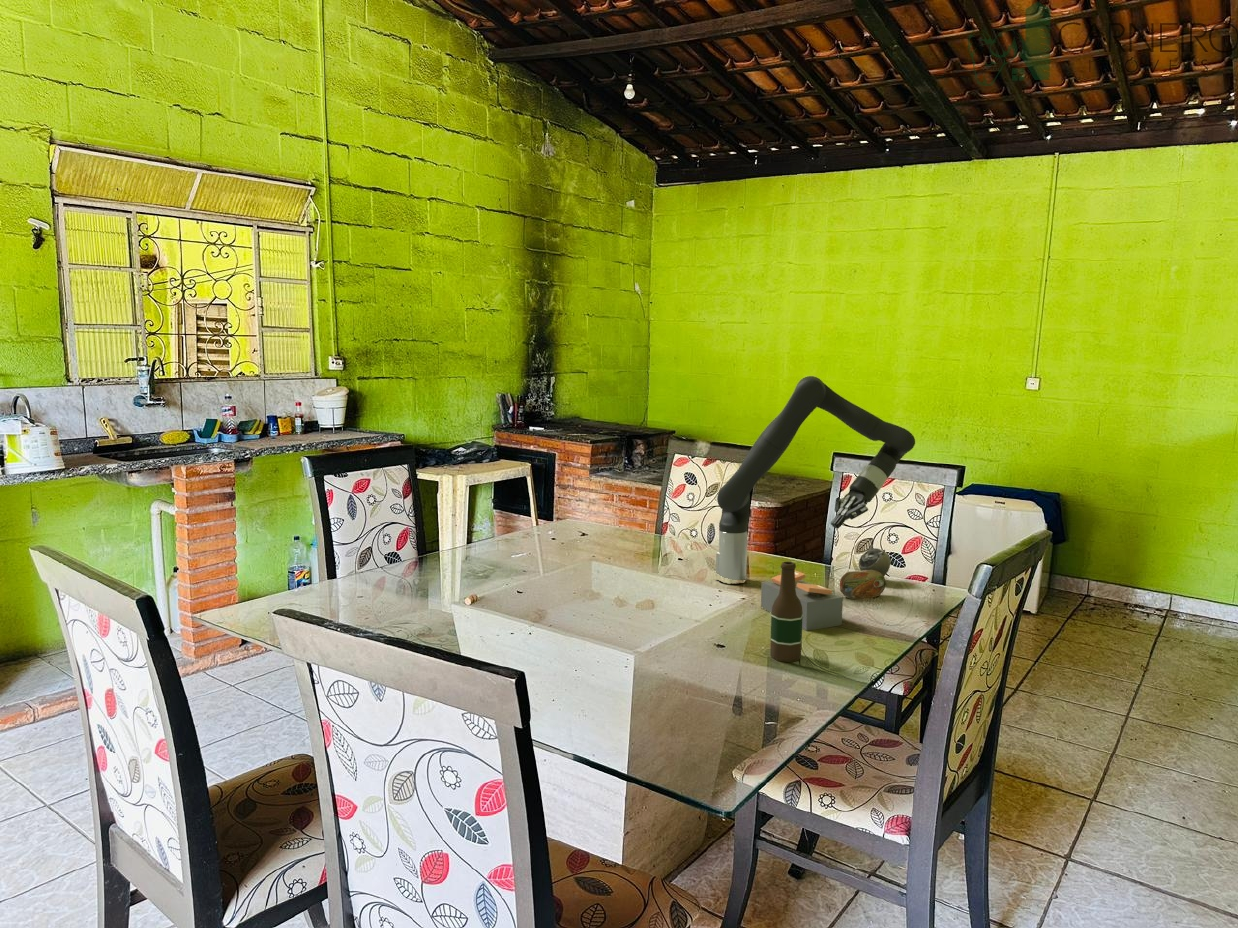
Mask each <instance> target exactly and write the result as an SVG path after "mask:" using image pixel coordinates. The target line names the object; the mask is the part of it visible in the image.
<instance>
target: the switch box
mask: <svg viewBox="0 0 1238 928" xmlns="http://www.w3.org/2000/svg"><path fill="white" fill-rule="evenodd" d="M797 583H804V584H811V583H809V582H807V581H804V580H803V579H802V580H799V581H797V582H795V590H796V595H797V597H798V598H799V600H800V602H801V605H802V612H803V617H802V630H804V631H806V632H807V631H808V632H809V631H814V630H819V629H826V628H827V629H828V628H832V627H837V626H842V625H843V602H844V597H843V596H841V595H838V594H836V593H834V592H832V594H831V595H830V594H821V593H812V592H807V591H805V590H802V589H800V588H798V587H796V586H797ZM760 589H761V591H760V592H761V593H760V608H761V607H763V608H764V609H766V610H767V611H766V610H765V611H766V612H768V611H769V612H768V613H770V612H771V613H772V606H773V604H774V601H775V599H776V598H777V596H778V595H779V591H780V585H778V584H776V583H774V582H772V580H765V581H761V586H760ZM764 609H763V610H764ZM771 613H770V614H771Z"/></svg>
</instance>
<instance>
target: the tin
mask: <svg viewBox="0 0 1238 928" xmlns="http://www.w3.org/2000/svg"><path fill="white" fill-rule="evenodd" d="M886 582H887V581H886V578H885V576H883V574H882V573H881V572H879V571H875V570H863V571H860V570H855V571H847V572H846V573H844V574H843V575H842V576H841V577H840V580H839V590H840V592H841V594H842V596H845V597H846V598H848V599H850V600H859V599H870V598H876V597H879V596H880V595H881V594H883V592H884V590H885V587H886V585H887V583H886Z"/></svg>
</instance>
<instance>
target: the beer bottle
mask: <svg viewBox="0 0 1238 928" xmlns="http://www.w3.org/2000/svg"><path fill="white" fill-rule="evenodd" d="M780 568H781V574H780V575H781V584H780V591H779V595H778V596H777V598H776V599H775V601H774V604H773V606H772V613H770V614H771V615H770V648H769V649H770V657H771V658H772V659H774V660H776V661H777V662H784V663H794V662H799V660H800V658H801V656H802V647H803V646H802V643H803V642H802V641H803V629H802V617H803V612H802V605H801V602H800V600H799V598H798V597H797V595H796V590H795V570H796V568H797V566H796V563H795V562H792V561H783V562H781V565H780Z"/></svg>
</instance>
